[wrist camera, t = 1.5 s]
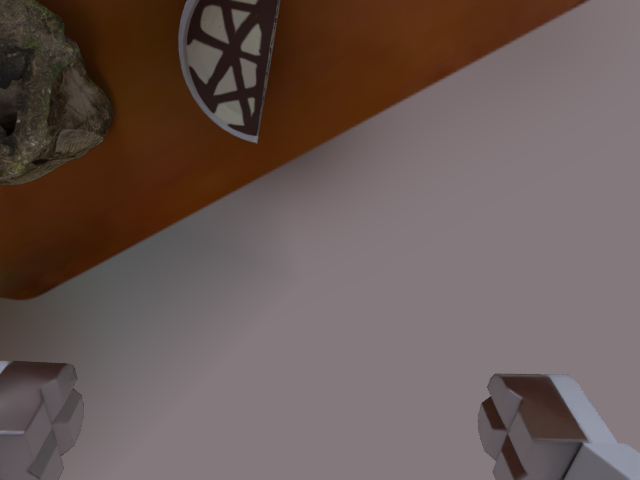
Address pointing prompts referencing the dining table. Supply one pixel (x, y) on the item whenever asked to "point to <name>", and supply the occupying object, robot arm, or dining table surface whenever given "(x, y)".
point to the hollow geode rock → (44, 95)
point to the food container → (229, 59)
